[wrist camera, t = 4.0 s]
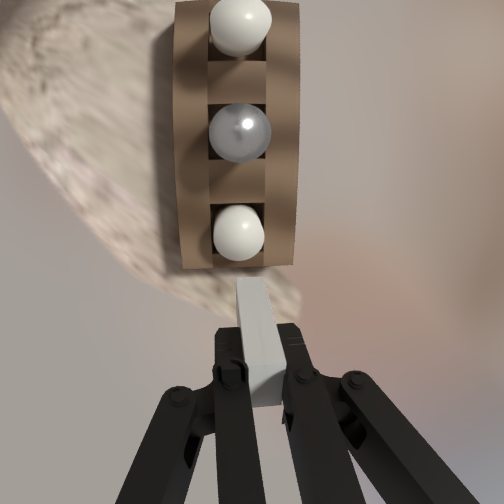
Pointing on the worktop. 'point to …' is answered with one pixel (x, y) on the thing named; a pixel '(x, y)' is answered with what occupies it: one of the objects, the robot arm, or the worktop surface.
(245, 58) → the button panel
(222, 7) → the white round piece
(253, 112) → the middle knob
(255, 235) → the outer button
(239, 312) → the robot arm
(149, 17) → the worktop surface
